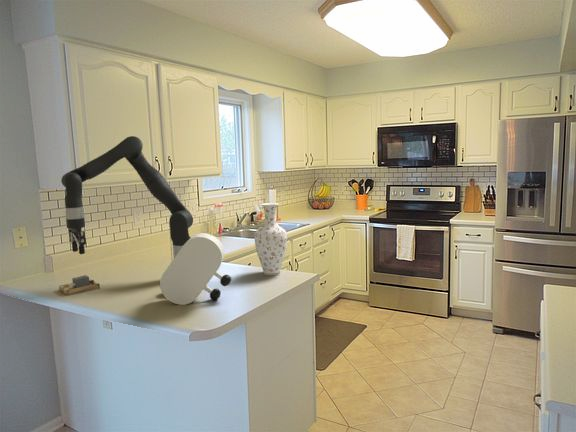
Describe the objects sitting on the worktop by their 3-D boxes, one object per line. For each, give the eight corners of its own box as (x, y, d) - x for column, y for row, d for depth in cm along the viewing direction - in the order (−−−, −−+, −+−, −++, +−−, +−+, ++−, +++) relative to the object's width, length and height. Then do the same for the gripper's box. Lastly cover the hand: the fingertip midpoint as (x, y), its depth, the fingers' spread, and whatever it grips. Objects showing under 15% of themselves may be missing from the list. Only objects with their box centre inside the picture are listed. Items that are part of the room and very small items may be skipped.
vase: (271, 267, 234) (269, 201, 229) (294, 272, 224) (292, 203, 219) (249, 274, 222) (246, 204, 217) (272, 279, 212) (270, 206, 207)
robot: (246, 259, 186) (198, 225, 183) (244, 264, 177) (195, 229, 174) (204, 314, 188) (157, 282, 186) (201, 322, 180) (152, 288, 177)
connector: (95, 284, 206) (94, 275, 205) (71, 290, 199) (70, 281, 198) (92, 283, 209) (90, 273, 208) (68, 289, 201) (67, 279, 201)
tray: (99, 288, 204) (99, 283, 204) (67, 295, 194) (67, 290, 194) (90, 283, 212) (90, 279, 212) (59, 290, 202) (59, 285, 202)
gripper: (89, 217, 197) (93, 253, 199) (78, 215, 207) (81, 249, 209) (71, 219, 191) (75, 256, 194) (61, 217, 202) (64, 252, 204)
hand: (78, 252), depth 201 cm, fingers open, 8 cm apart
